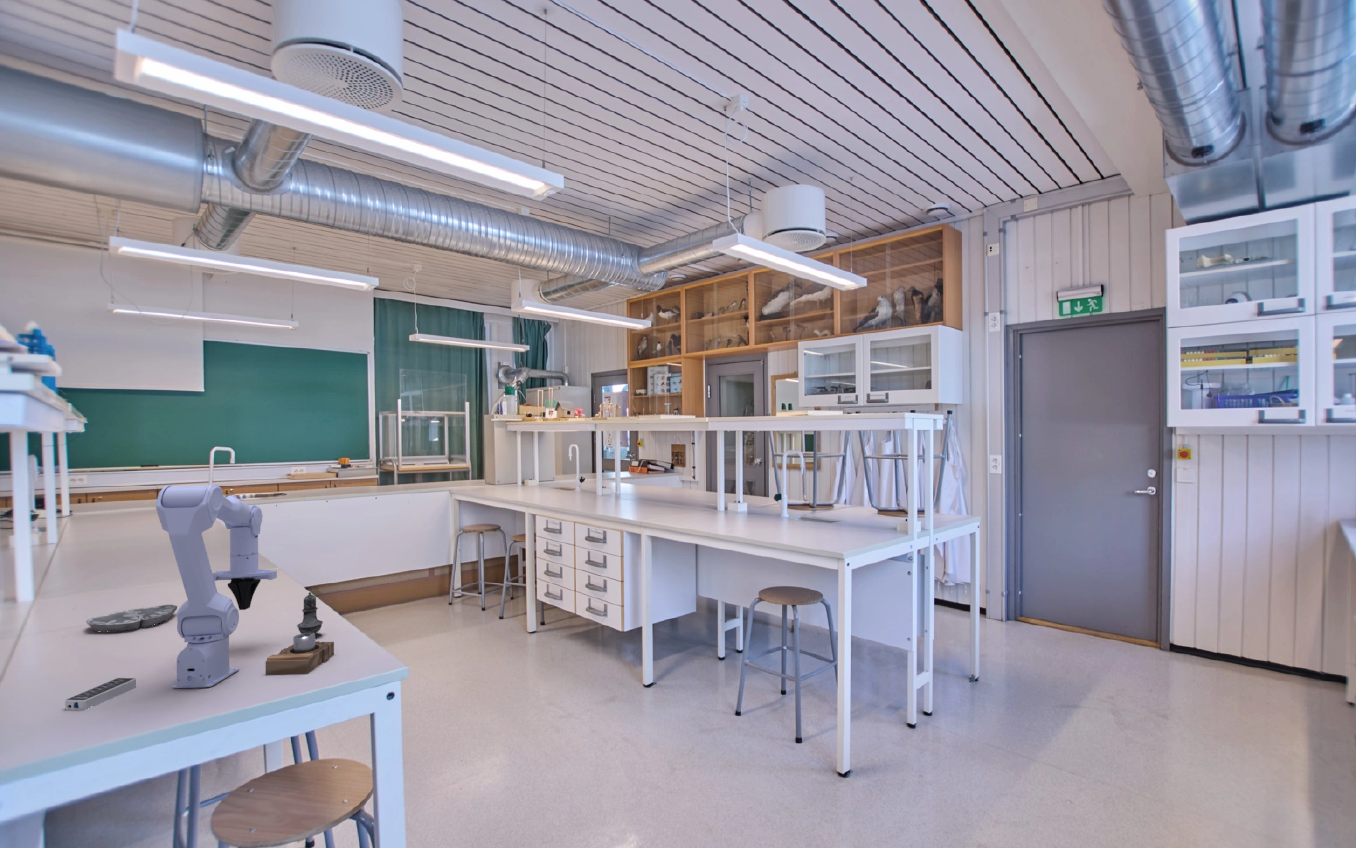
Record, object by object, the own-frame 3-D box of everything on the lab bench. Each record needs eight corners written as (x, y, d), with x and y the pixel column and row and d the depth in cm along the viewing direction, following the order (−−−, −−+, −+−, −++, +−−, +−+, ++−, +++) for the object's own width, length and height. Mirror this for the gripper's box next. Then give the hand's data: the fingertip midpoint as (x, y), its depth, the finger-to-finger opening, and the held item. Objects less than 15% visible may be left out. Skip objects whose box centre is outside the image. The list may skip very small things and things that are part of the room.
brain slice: (95, 641, 163) (95, 630, 163) (81, 629, 173) (81, 618, 173) (187, 622, 179) (187, 611, 179) (169, 612, 189) (169, 602, 189)
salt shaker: (293, 642, 160) (293, 595, 160) (301, 635, 166) (300, 590, 166) (319, 640, 162) (319, 593, 162) (325, 632, 167) (325, 588, 167)
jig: (309, 673, 139) (309, 657, 139) (263, 675, 139) (263, 658, 139) (337, 653, 152) (337, 638, 152) (295, 654, 151) (294, 639, 151)
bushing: (310, 664, 145) (309, 638, 145) (290, 665, 145) (289, 639, 145) (319, 656, 149) (318, 632, 149) (300, 658, 149) (299, 633, 149)
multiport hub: (137, 688, 133) (137, 678, 133) (84, 712, 122) (84, 700, 122) (117, 688, 133) (117, 677, 133) (63, 712, 122) (63, 700, 122)
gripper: (283, 550, 159) (284, 603, 159) (224, 551, 158) (225, 604, 158) (266, 556, 152) (267, 611, 151) (205, 557, 151) (205, 613, 151)
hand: (244, 608), depth 154 cm, fingers closed
